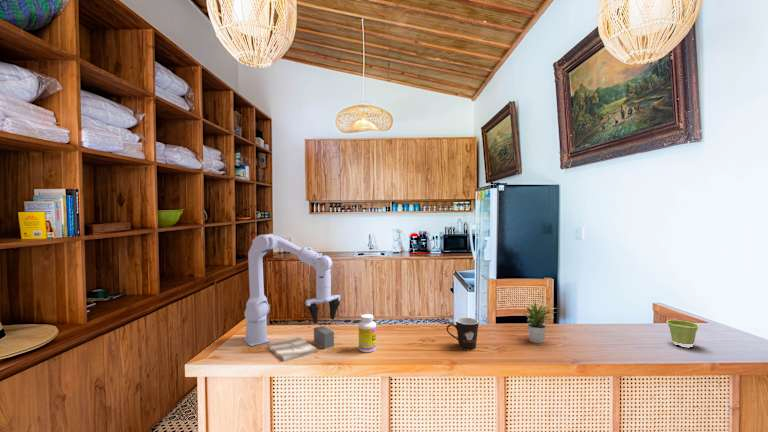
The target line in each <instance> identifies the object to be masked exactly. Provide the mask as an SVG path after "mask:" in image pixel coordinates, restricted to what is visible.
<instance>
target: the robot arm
mask: <svg viewBox="0 0 768 432" xmlns="http://www.w3.org/2000/svg"><path fill="white" fill-rule="evenodd" d="M251 241H252V244H251V246H250V248H249V250H248V254H247V257H248V258H247V259H248V283H249V298H248V300H247V301H246V307H245V310H244V312H243V313H244V319H245V320H247V321H246V324H245V337H244V338H243V341H244V342H246V344H247V345H248V346H250V347H253V346H258V345H262V344H266V343H270V342H271V340H270V339H269V338H268V332H267V329H268V323H267V322H268V320H267V319H268V317H267V315H268V314H269V312H270V304H269V303H268V298H267V296H266V295H265V288H264V286H265V285H264V267H263V266H264V263H263V257H264V256H265V255H266V254H267V253H268V252H269V251H271V250H274V249H282V250H283V251H286V252H289V253H291V254H293V255H295V256H297V258H298V260H299V261H300V262H302V263H305V264H306V265H309V266H311V267H313V268H314V270H315V273H316V274H315V275H316V277H315V281H316V284H315V288H316V289H315V291H316V296H315V297H313V298H309V299H306V300H305V306H307V309H308V311H309V313H310V315H311V319H312V323H314V324H318V314H319V313H318V312H319V306H318V304H323V303H325V304H326V303H328V305H329V306H328V307H329V319H330V320H335V317H336V312H337V310H338V308H339V306H340V304H341V301H342V300H341V297H342V295H341V294H332V276H331V270H332V269H331V267H332V266H333V260H332V258H331V257H330V256H329V255H326V254H324V255H323V253H322V252H317V251H315V250H313V247H310V246H309V247H307V246H305V247H303V248H302V247H300V246H298V245H297V244H294V243H293V242H290V241H289V240H287V239H285V238H283V237H282V236H280V235H277V234H275V233H268V234H259V235H257V236H256V237H254V239H252V240H251Z"/></svg>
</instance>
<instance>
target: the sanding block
mask: <svg viewBox="0 0 768 432" xmlns="http://www.w3.org/2000/svg"><path fill="white" fill-rule="evenodd" d="M313 343H314V344H315V345H317V346H318V347H320V348H322V349H324V350H327V349H330V348H334V347H335V332H334V330H332V329H329V328H328V327H325V326H323V325H320V326H317V327H316V326H315V327H313Z"/></svg>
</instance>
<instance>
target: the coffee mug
mask: <svg viewBox="0 0 768 432" xmlns="http://www.w3.org/2000/svg"><path fill="white" fill-rule="evenodd" d="M455 323H456V324H454V323H450V324H448V325H447V326H446V331H447V333H448V335H450V336H451V337H453V338H454V339H456V340H457V342H458V347H459V348H460V349H461V350H466V351H470V350H475V349H476V347H477V340H478V331H479V323H480V321H479V320H478V319H476V318H472V317H459V318H456V319H455ZM451 326H453V327H455V329H456V334H457V336H455V335H453V334H452V333H451V332H450V331H449V327H451Z"/></svg>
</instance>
